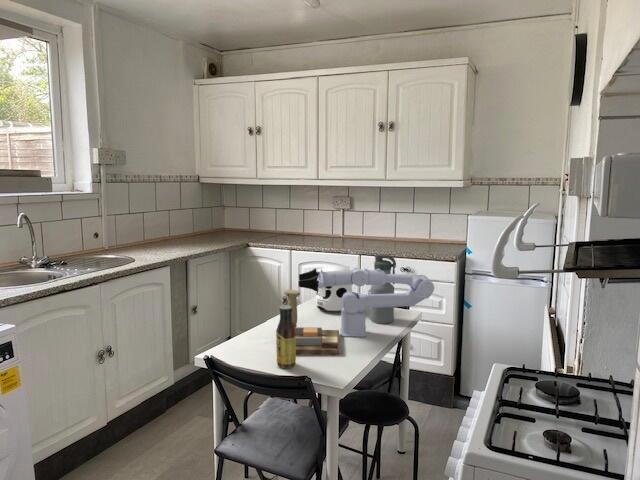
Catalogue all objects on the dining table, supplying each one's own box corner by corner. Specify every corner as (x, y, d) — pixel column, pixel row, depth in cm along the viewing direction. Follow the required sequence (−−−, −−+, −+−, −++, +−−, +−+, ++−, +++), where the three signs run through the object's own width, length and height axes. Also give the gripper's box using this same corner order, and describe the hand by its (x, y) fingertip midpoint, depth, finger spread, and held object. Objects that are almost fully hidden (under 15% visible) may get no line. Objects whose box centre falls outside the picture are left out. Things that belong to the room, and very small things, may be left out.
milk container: (356, 305, 224) (356, 267, 221) (350, 316, 207) (350, 275, 205) (320, 303, 228) (320, 265, 225) (311, 313, 211) (311, 273, 209)
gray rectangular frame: (321, 333, 180) (321, 327, 179) (321, 345, 168) (321, 338, 168) (285, 333, 180) (284, 327, 180) (281, 344, 169) (281, 338, 168)
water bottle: (394, 317, 206) (395, 253, 201) (395, 324, 196) (396, 257, 192) (370, 316, 207) (370, 252, 202) (370, 323, 197) (371, 257, 193)
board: (338, 335, 184) (338, 330, 184) (339, 355, 164) (339, 349, 164) (285, 334, 184) (285, 329, 184) (280, 354, 165) (280, 349, 164)
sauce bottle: (276, 362, 159) (275, 303, 156) (295, 361, 159) (295, 303, 156) (276, 370, 152) (275, 309, 149) (296, 369, 153) (295, 309, 150)
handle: (295, 331, 189) (294, 294, 186) (282, 328, 192) (281, 291, 190) (302, 327, 193) (302, 291, 190) (289, 324, 196) (289, 289, 194)
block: (317, 336, 176) (317, 327, 176) (317, 341, 172) (317, 332, 171) (303, 336, 177) (303, 327, 176) (303, 341, 172) (303, 332, 171)
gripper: (333, 262, 189) (298, 264, 188) (335, 274, 174) (297, 276, 174) (333, 279, 190) (299, 281, 190) (335, 292, 176) (299, 294, 176)
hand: (298, 280), depth 182 cm, fingers open, 7 cm apart
